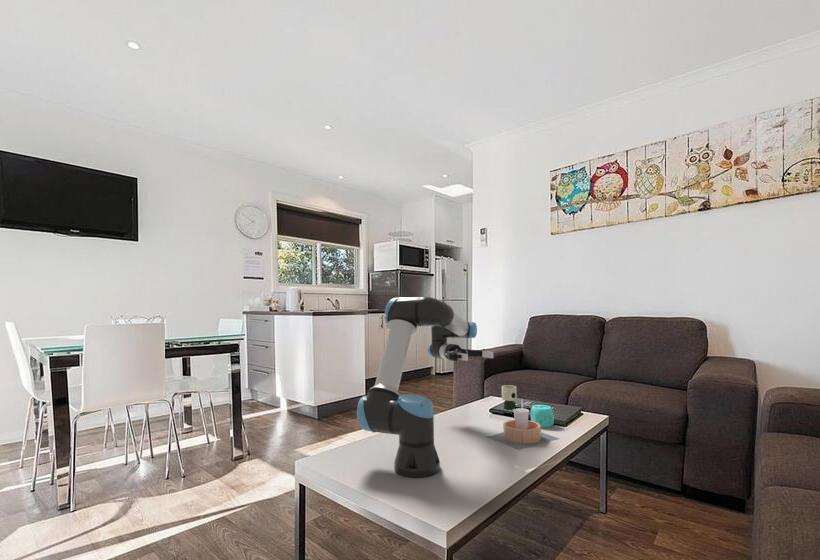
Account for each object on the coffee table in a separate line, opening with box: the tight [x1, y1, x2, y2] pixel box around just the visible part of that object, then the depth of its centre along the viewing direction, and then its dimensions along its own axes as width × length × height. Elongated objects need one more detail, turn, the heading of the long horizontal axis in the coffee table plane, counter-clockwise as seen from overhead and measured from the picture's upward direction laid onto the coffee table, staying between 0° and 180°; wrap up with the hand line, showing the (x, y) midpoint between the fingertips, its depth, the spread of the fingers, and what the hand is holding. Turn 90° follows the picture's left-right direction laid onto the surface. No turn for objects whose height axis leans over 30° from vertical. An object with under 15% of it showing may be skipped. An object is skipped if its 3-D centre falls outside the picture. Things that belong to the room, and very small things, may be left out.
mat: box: [485, 431, 560, 451], centre depth 164 cm, size 22×18×1 cm
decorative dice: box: [529, 404, 555, 428], centre depth 181 cm, size 8×8×8 cm
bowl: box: [502, 419, 542, 444], centre depth 164 cm, size 14×14×5 cm
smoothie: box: [513, 398, 530, 429], centre depth 165 cm, size 6×6×14 cm
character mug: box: [501, 384, 518, 410], centre depth 202 cm, size 11×7×13 cm, turn 143°
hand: (480, 356), depth 174 cm, fingers open, 13 cm apart
